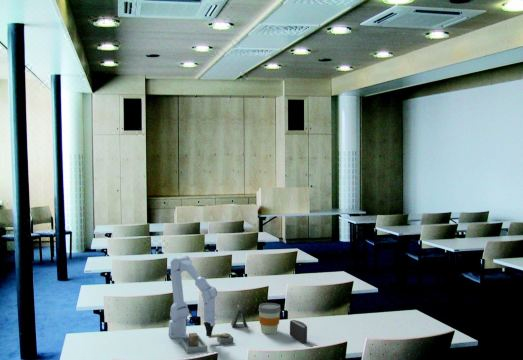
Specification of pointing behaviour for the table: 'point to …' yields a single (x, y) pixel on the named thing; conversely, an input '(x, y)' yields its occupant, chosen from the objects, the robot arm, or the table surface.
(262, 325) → the reusable coffee cup
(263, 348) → the table surface
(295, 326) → the leaning round-cornered charcoal block
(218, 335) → the crank
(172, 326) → the robot arm
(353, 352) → the table surface
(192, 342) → the block
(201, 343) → the tray
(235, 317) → the phone stand
